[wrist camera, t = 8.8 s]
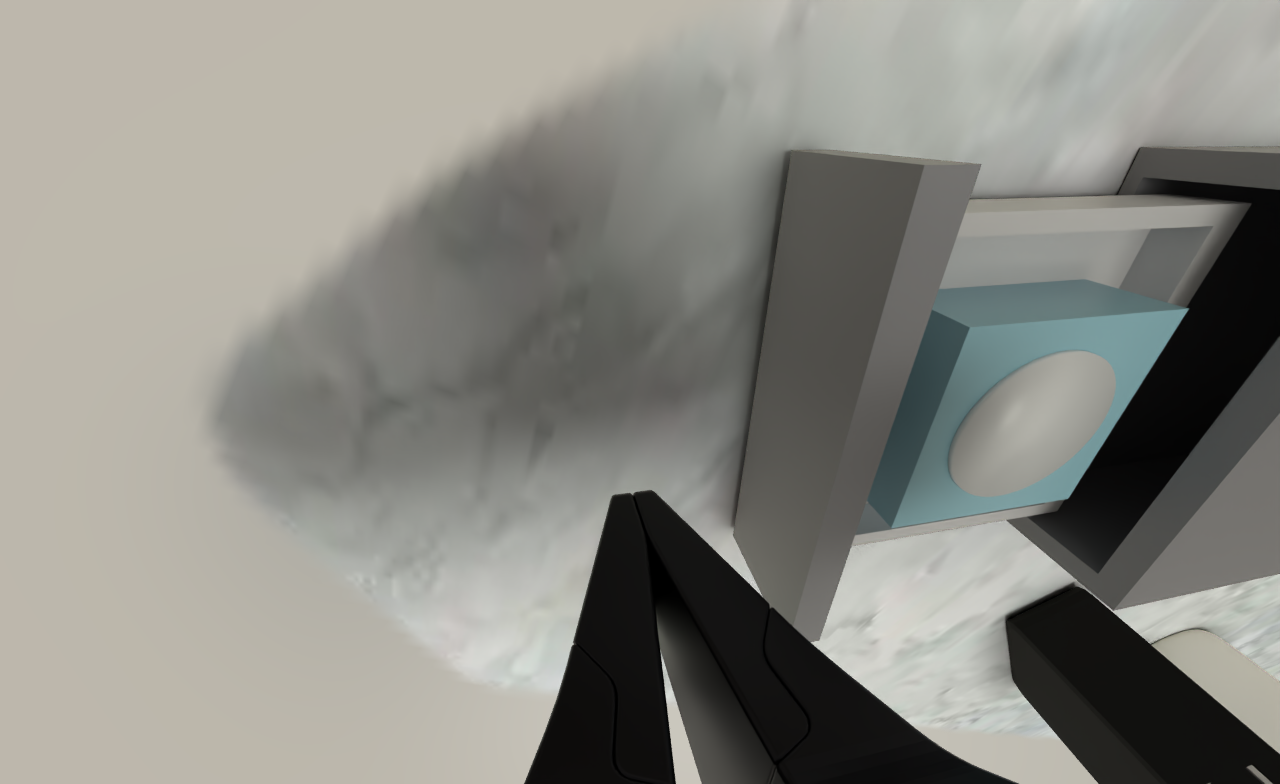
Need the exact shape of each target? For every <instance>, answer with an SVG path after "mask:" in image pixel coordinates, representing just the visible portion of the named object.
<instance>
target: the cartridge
mask: <svg viewBox="0 0 1280 784" xmlns="http://www.w3.org/2000/svg"><path fill="white" fill-rule="evenodd" d="M1187 311H1188V308H1185V307H1181V306H1178V305H1174V304H1170V303H1167V302H1163V301H1160V300H1156V299H1153V298H1149V297H1146V296H1142V295H1139V294H1135V293H1132V292H1128V291H1125V290H1121V289H1118V288H1114V287H1111V286H1107V285H1104V284H1100V283H1097V282H1093V281H1090V280H1086V279H1081V280H1066V281H1052V282H1037V283H1022V284H1007V285H993V286H978V287H963V288H948V289H939V290H938V293H937V296H936V299H935V302H934V305H933V308H932V311H931V314H930V317H929V320H928V323H927V326H926V329H925V331H924V334H923V337H922V340H921V343H920V346H919V349H918V352H917V355H916V358H915V361H914V364H913V367H912V370H911V373H910V375H909V378H908V381H907V384H906V387H905V390H904V393H903V396H902V399H901V402H900V405H899V408H898V411H897V414H896V417H895V419H894V422H893V425H892V428H891V431H890V434H889V437H888V440H887V443H886V446H885V449H884V452H883V455H882V458H881V460H880V463H879V466H878V469H877V472H876V475H875V478H874V481H873V484H872V487H871V490H870V493H869V496H868V499H867V501H868V502H869V504H870V505H871V506H872V507H873V508H874V509H875V510H876V512H877V513H878V514H879V515H880V516H881V517H882V518H883V519H884V521H885V522H886V523H887V524H888V525H889V526H890V527H891V528H896V527H902V526H908V525H914V524H920V523H926V522H932V521H938V520H944V519H950V518H956V517H962V516H968V515H974V514H980V513H986V512H992V511H998V510H1004V509H1010V508H1016V507H1022V506H1028V505H1034V504H1040V503H1046V502H1052V501H1058V500H1064V499H1068V498H1069V497H1070V495H1071V493H1072V492H1073V490H1074V489H1075V487H1076V486H1077V484H1078V482H1079V481H1080V479H1081V478H1082V476H1083V475H1084V473H1085V471H1086V470H1087V468H1088V467H1089V465H1090V464H1091V462H1092V460H1093V459H1094V457H1095V456H1096V454H1097V453H1098V451H1099V449H1100V448H1101V446H1102V445H1103V443H1104V442H1105V440H1106V438H1107V437H1108V435H1109V434H1110V432H1111V431H1112V429H1113V427H1114V426H1115V424H1116V423H1117V421H1118V420H1119V418H1120V416H1121V415H1122V413H1123V412H1124V410H1125V409H1126V407H1127V405H1128V404H1129V402H1130V401H1131V399H1132V398H1133V396H1134V394H1135V393H1136V391H1137V390H1138V388H1139V387H1140V385H1141V383H1142V382H1143V380H1144V379H1145V377H1146V375H1147V374H1148V372H1149V371H1150V369H1151V368H1152V366H1153V364H1154V363H1155V361H1156V360H1157V358H1158V357H1159V355H1160V353H1161V352H1162V350H1163V349H1164V347H1165V346H1166V344H1167V342H1168V341H1169V339H1170V338H1171V336H1172V335H1173V333H1174V331H1175V330H1176V328H1177V327H1178V325H1179V324H1180V322H1181V320H1182V319H1183V317H1184V316H1185V314H1186V313H1187Z"/></svg>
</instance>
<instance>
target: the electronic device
mask: <svg viewBox="0 0 1280 784" xmlns="http://www.w3.org/2000/svg"><path fill="white" fill-rule="evenodd" d="M1006 626H1007V634H1008V643H1009V651H1010V659H1011V668H1012V676H1013V680H1014V682H1015V684H1016V685H1017V687H1018V689H1019V690H1020V692H1021V693H1022V694H1023V696H1024V697H1025V698H1026V699H1027V700H1028V702H1029V703H1030V704H1031V705H1032V706H1033V707H1034V709H1035V710H1036V711H1037V712H1038V713H1039V714H1040V716H1041V717H1042V718H1043V719H1044V720H1045V721H1046V723H1047V724H1048V725H1049V726H1050V727H1051V729H1052V730H1053V731H1054V732H1055V733H1056V734H1057V736H1058V737H1059V738H1060V739H1061V740H1062V741H1063V743H1064V744H1065V745H1066V746H1067V747H1068V748H1069V750H1070V751H1071V752H1072V753H1073V754H1074V755H1075V756H1076V758H1077V759H1078V760H1079V761H1080V762H1081V764H1082V765H1083V766H1084V767H1085V768H1086V769H1087V770H1088V772H1089V773H1090V774H1091V775H1092V776H1093V778H1094V779H1095V780H1096V781H1097V782H1098V784H1280V754H1279V753H1278V752H1277V751H1276V750H1274V749H1273V748H1272V747H1271V746H1270V745H1269V744H1267V743H1266V742H1265V741H1264V740H1263V739H1261V738H1260V737H1259V736H1258V735H1257V734H1256V733H1254V732H1253V731H1252V730H1251V729H1250V728H1249V727H1247V726H1246V725H1245V724H1244V723H1243V722H1241V721H1240V720H1239V719H1238V718H1237V717H1236V716H1234V715H1233V714H1232V713H1231V712H1230V711H1228V710H1227V709H1226V708H1225V707H1224V706H1223V705H1221V704H1220V703H1219V702H1218V701H1217V700H1215V699H1214V698H1213V697H1212V696H1211V695H1210V694H1208V693H1207V692H1206V691H1205V690H1204V689H1203V688H1201V687H1200V686H1199V685H1198V684H1197V683H1195V682H1194V681H1193V680H1192V679H1191V678H1190V677H1188V676H1187V675H1186V674H1185V673H1184V672H1182V671H1181V670H1180V669H1179V668H1178V667H1177V666H1175V665H1174V664H1173V663H1172V662H1171V661H1169V660H1168V659H1167V658H1166V657H1165V656H1164V655H1162V654H1161V653H1160V652H1159V651H1158V650H1157V649H1155V648H1154V647H1153V646H1152V645H1151V644H1149V643H1148V642H1147V641H1146V640H1145V639H1144V638H1142V637H1141V636H1140V635H1139V634H1138V633H1136V632H1135V631H1134V630H1133V629H1132V628H1131V627H1129V626H1128V625H1127V624H1126V623H1125V622H1123V621H1122V620H1121V619H1120V618H1119V617H1118V616H1116V615H1115V614H1114V613H1113V612H1112V611H1111V610H1109V609H1108V608H1107V607H1106V606H1105V605H1103V604H1102V603H1101V602H1100V601H1099V600H1098V599H1096V598H1095V597H1094V596H1093V595H1091V594H1090V593H1089V592H1087V591H1086V590H1084V589H1082V588H1080V587H1075V588H1073V589H1071V590H1069V591H1067V592H1065V593H1063V594H1061V595H1059V596H1057V597H1054V598H1052V599H1050V600H1048V601H1046V602H1044V603H1042V604H1040V605H1038V606H1036V607H1034V608H1032V609H1030V610H1028V611H1026V612H1024V613H1021V614H1019V615H1017V616H1015V617H1013V618H1011V619H1009V620H1007V621H1006Z"/></svg>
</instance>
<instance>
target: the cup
mask: <svg viewBox="0 0 1280 784" xmlns="http://www.w3.org/2000/svg"><path fill="white" fill-rule="evenodd" d="M1151 645H1152V646H1153V647H1154V648H1155V649H1157V650H1158V651H1159V652H1160V653H1161V654H1162V655H1164V656H1165V657H1166V658H1167V659H1168V660H1169V661H1171V662H1172V663H1173V664H1174V665H1175V666H1177V667H1178V668H1179V669H1180V670H1181V671H1182V672H1184V673H1185V674H1186V675H1187V676H1188V677H1190V678H1191V679H1192V680H1193V681H1194V682H1195V683H1197V684H1198V685H1199V686H1200V687H1201V688H1203V689H1204V690H1205V691H1206V692H1207V693H1208V694H1210V695H1211V696H1212V697H1213V698H1214V699H1215V700H1217V701H1218V702H1219V703H1220V704H1221V705H1223V706H1224V707H1225V708H1226V709H1227V710H1228V711H1230V712H1231V713H1232V714H1233V715H1234V716H1236V717H1237V718H1238V719H1239V720H1240V721H1241V722H1243V723H1244V724H1245V725H1246V726H1247V727H1249V728H1250V729H1251V730H1252V731H1253V732H1254V733H1256V734H1257V735H1258V736H1259V737H1260V738H1261V739H1263V740H1264V741H1265V742H1266V743H1267V744H1269V745H1270V746H1271V747H1272V748H1273V749H1274V750H1276V751H1277V752H1278V753H1279V754H1280V681H1278V680H1277V679H1276V678H1274V677H1273V676H1272V675H1270V674H1269V673H1268V672H1266V671H1265V670H1264V669H1262V668H1261V667H1260V666H1258V665H1257V664H1256V663H1254V662H1253V661H1252V660H1250V659H1249V658H1248V657H1246V656H1245V655H1244V654H1242V653H1241V652H1240V651H1238V650H1237V649H1235V648H1234V647H1233V646H1231V645H1230V644H1229V643H1227V642H1226V641H1224V640H1223V639H1221V638H1220V637H1218V636H1216V635H1214V634H1212V633H1210V632H1207V631H1204V630H1199V629H1193V630H1187V631H1183V632H1180V633H1177V634H1174V635H1171V636H1168V637H1166V638H1164V639H1162V640H1159V641H1157V642H1155V643H1153V644H1151Z"/></svg>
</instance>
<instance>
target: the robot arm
mask: <svg viewBox="0 0 1280 784" xmlns="http://www.w3.org/2000/svg"><path fill="white" fill-rule="evenodd" d="M573 643H574V645H572V647H571V651H570V655H569V659H568V662H567V666H566V670H565V673H564V676H563V680H562V683H561V686H560V690H559V693H558V696H557V700H556V702H555V705H554V708H553V711H552V713H551V716H550V719H549V722H548V725H547V727H546V730H545V733H544V735H543V738H542V741H541V743H540V745H539V748H538V750H537V753H536V756H535V758H534V760H533V763H532V765H531V768H530V770H529V773H528V776H527V778H526V781H525V783H524V784H676V781H675V773H674V764H673V756H672V748H671V738H670V731H669V722H668V713H667V704H666V696H665V687H664V678H663V670H662V661H661V653H662V656H663V659H664V662H665V666H666V669H667V672H668V675H669V679H670V682H671V685H672V688H673V692H674V695H675V698H676V701H677V705H678V708H679V711H680V714H681V717H682V721H683V724H684V727H685V730H686V734H687V737H688V740H689V743H690V747H691V750H692V753H693V756H694V760H695V763H696V766H697V769H698V773H699V776H700V779H701V782H702V784H1018V783H1016V782H1013V781H1011V780H1008V779H1006V778H1003V777H1001V776H999V775H996V774H994V773H991V772H989V771H986V770H983V769H981V768H979V767H977V766H974V765H972V764H970V763H968V762H966V761H964V760H962V759H960V758H959V757H957V756H955V755H953V754H952V753H950V752H948V751H947V750H945V749H943V748H942V747H940V746H939V745H937V744H936V743H935V742H933V741H931V740H930V739H929V738H927V737H926V736H925V735H923V734H922V733H921V732H919V731H918V730H917V729H916V728H914V727H913V726H912V725H911V724H909V723H908V722H907V721H906V720H904V719H903V718H902V717H901V716H899V715H898V714H897V713H896V712H894V711H893V710H892V709H891V708H889V707H888V706H887V705H886V704H884V703H883V702H882V701H881V700H880V699H878V698H877V697H876V696H875V695H873V694H872V693H871V692H870V691H868V690H867V689H866V688H865V687H863V686H862V685H861V684H860V683H858V682H857V681H856V680H855V679H853V678H852V677H851V676H850V675H848V674H847V673H846V672H845V671H844V670H842V669H841V668H840V667H839V666H838V665H836V664H835V663H834V662H833V661H832V660H830V659H829V658H828V657H827V656H826V655H824V654H823V653H822V652H821V651H820V650H819V649H817V648H816V647H815V646H814V645H813V644H812V643H810V642H809V641H808V640H807V639H806V638H805V637H804V636H803V635H802V634H801V633H800V632H799V631H798V630H796V629H795V628H794V627H793V626H792V625H791V624H790V623H789V622H788V621H787V620H786V619H785V618H784V617H783V616H782V615H781V614H780V613H779V612H778V611H777V610H776V609H775V608H773V607H771V608H770V604H769V603H768V602H767V601H766V600H765V599H764V598H763V597H762V596H761V595H760V594H759V593H758V592H757V591H756V590H755V589H754V588H753V587H752V586H751V585H750V584H749V583H748V582H747V581H746V580H745V579H744V578H743V577H742V576H740V575H739V574H738V573H737V572H736V571H735V570H734V569H733V568H732V567H731V566H730V565H729V564H728V563H727V562H726V561H725V560H724V559H723V558H722V557H721V556H720V555H719V554H718V553H717V552H716V551H715V550H714V549H713V548H712V547H711V546H710V545H709V544H708V543H707V542H706V541H705V540H704V539H703V538H701V537H700V536H699V535H698V534H697V533H696V532H695V531H694V530H693V529H692V528H691V527H690V526H689V525H688V524H687V523H686V522H685V521H684V520H683V519H682V518H681V517H680V516H679V515H678V514H677V513H676V512H675V511H674V510H673V509H672V508H671V507H670V506H669V505H668V504H667V503H666V502H665V501H663V500H662V499H661V498H660V497H659V496H658V495H657V494H656V493H655V492H654V491H652V490H647V491H640V492H635V493H634V494H633V495H632V494H631V493H625V494H618V495H613V496H612V498H611V500H610V504H609V508H608V512H607V516H606V519H605V523H604V527H603V531H602V535H601V538H600V542H599V546H598V550H597V554H596V557H595V561H594V565H593V569H592V573H591V576H590V580H589V584H588V588H587V592H586V595H585V599H584V603H583V607H582V610H581V614H580V618H579V622H578V626H577V629H576V633H575V637H574V641H573ZM660 650H661V653H660Z"/></svg>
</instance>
